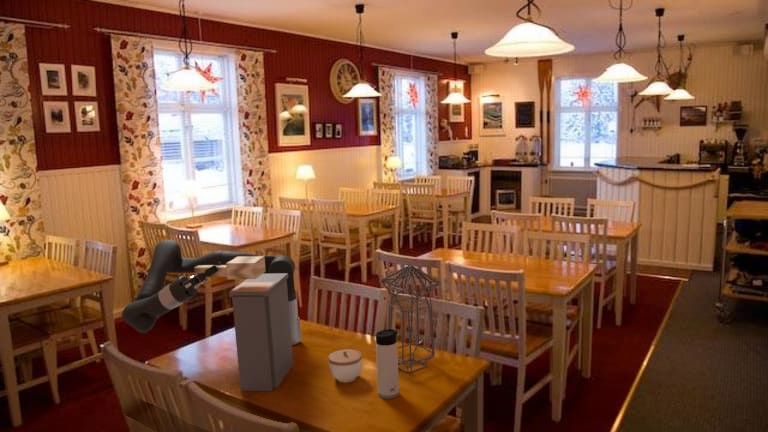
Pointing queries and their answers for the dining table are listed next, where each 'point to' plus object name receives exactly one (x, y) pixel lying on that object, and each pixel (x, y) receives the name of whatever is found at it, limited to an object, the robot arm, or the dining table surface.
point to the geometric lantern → (408, 271)
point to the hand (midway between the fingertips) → (218, 266)
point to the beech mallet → (238, 268)
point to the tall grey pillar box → (262, 331)
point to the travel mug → (387, 363)
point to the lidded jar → (345, 364)
